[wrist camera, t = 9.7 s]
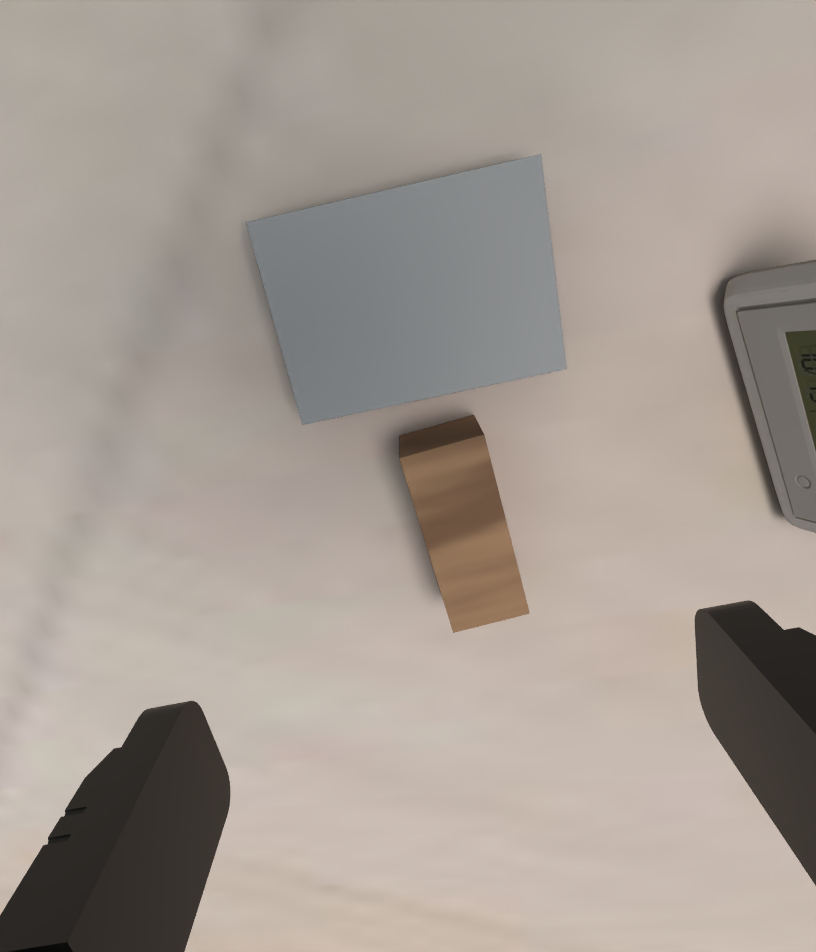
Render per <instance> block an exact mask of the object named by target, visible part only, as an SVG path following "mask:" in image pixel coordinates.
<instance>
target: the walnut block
mask: <svg viewBox="0 0 816 952" xmlns="http://www.w3.org/2000/svg"><path fill="white" fill-rule="evenodd" d="M399 459H400V462H401V465H402V469H403V472H404V475H405V478H406V482H407V485H408V488H409V491H410V495H411V498H412V501H413V504H414V507H415V511H416V514H417V517H418V520H419V524H420V527H421V530H422V533H423V536H424V540H425V543H426V546H427V549H428V553H429V556H430V559H431V562H432V566H433V569H434V572H435V575H436V578H437V582H438V585H439V588H440V591H441V595H442V598H443V601H444V604H445V607H446V611H447V614H448V617H449V620H450V624H451V627H452V630H453V633H454V632H458V631H462V630H466V629H470V628H474V627H478V626H482V625H486V624H490V623H494V622H498V621H502V620H506V619H510V618H513V617H517V616H521V615H525V614H529V609H528V605H527V601H526V597H525V593H524V589H523V586H522V582H521V578H520V574H519V570H518V566H517V562H516V558H515V554H514V550H513V546H512V542H511V538H510V534H509V531H508V527H507V523H506V519H505V515H504V511H503V507H502V503H501V499H500V495H499V491H498V487H497V483H496V480H495V476H494V472H493V468H492V464H491V460H490V456H489V452H488V448H487V444H486V440H485V436H484V433H483V432H482V430H481V428H480V426H479V424H478V422H477V420H476V418H475V416H474V415H471V416H468V417H464V418H461V419H457V420H454V421H450V422H447V423H443V424H440V425H436V426H433V427H429V428H426V429H422V430H419V431H415V432H412V433H408V434H405V435H401V436H399Z"/></svg>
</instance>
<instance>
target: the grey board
mask: <svg viewBox="0 0 816 952" xmlns="http://www.w3.org/2000/svg"><path fill="white" fill-rule="evenodd" d="M246 225H247V229H248V232H249V236H250V239H251V243H252V246H253V250H254V254H255V257H256V261H257V264H258V268H259V272H260V275H261V279H262V282H263V286H264V289H265V293H266V297H267V300H268V304H269V307H270V311H271V315H272V318H273V322H274V325H275V329H276V332H277V336H278V340H279V343H280V347H281V350H282V354H283V358H284V361H285V365H286V368H287V372H288V375H289V379H290V383H291V386H292V390H293V393H294V397H295V400H296V404H297V408H298V411H299V415H300V418H301V422H302V425H304V424H309V423H313V422H318V421H323V420H328V419H332V418H337V417H342V416H347V415H351V414H356V413H361V412H366V411H370V410H375V409H380V408H385V407H389V406H394V405H399V404H404V403H408V402H413V401H418V400H423V399H427V398H432V397H437V396H442V395H446V394H451V393H456V392H461V391H465V390H470V389H475V388H480V387H484V386H489V385H494V384H499V383H503V382H508V381H513V380H518V379H522V378H527V377H532V376H536V375H541V374H546V373H551V372H555V371H560V370H565V369H567V367H566V359H565V350H564V342H563V334H562V325H561V317H560V309H559V300H558V292H557V283H556V275H555V267H554V258H553V250H552V241H551V233H550V225H549V216H548V208H547V200H546V191H545V183H544V174H543V166H542V158H541V154H539V155H535V156H531V157H526V158H522V159H518V160H513V161H509V162H505V163H500V164H496V165H492V166H487V167H483V168H479V169H475V170H470V171H466V172H462V173H457V174H453V175H449V176H444V177H440V178H436V179H431V180H427V181H423V182H418V183H414V184H410V185H405V186H401V187H397V188H392V189H388V190H384V191H380V192H375V193H371V194H367V195H362V196H358V197H354V198H349V199H345V200H341V201H336V202H332V203H328V204H323V205H319V206H315V207H310V208H306V209H302V210H298V211H293V212H289V213H285V214H280V215H276V216H272V217H267V218H263V219H259V220H254V221H250V222H246Z"/></svg>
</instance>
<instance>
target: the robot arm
mask: <svg viewBox="0 0 816 952" xmlns="http://www.w3.org/2000/svg"><path fill="white" fill-rule="evenodd" d="M695 637H696V657H697V677H698V692H699V697H700V702H701V705H702V708H703V711H704V714H705V717H706V719H707V721H708V723H709V725H710V727H711V729H712V731H713V733H714V734H715V736H716V737H717V739H718V740H719V742H720V743H721V745H722V746H723V748H724V749H725V751H726V752H727V754H728V755H729V757H730V758H731V760H732V761H733V763H734V764H735V766H736V767H737V769H738V770H739V772H740V773H741V775H742V776H743V778H744V779H745V781H746V782H747V784H748V785H749V787H750V788H751V790H752V791H753V793H754V794H755V795H756V797H757V798H758V800H759V801H760V803H761V804H762V806H763V807H764V809H765V810H766V812H767V813H768V815H769V816H770V818H771V819H772V821H773V822H774V824H775V825H776V827H777V828H778V830H779V831H780V833H781V834H782V836H783V837H784V839H785V840H786V842H787V843H788V845H789V846H790V848H791V849H792V851H793V852H794V854H795V855H796V857H797V858H798V860H799V861H800V863H801V864H802V866H803V867H804V869H805V870H806V872H807V873H808V875H809V876H810V878H811V879H812V881H813V882H814V884H815V885H816V635H814V634H811V633H809V632H807V631H805V630H803V629H801V628H799V627H798V628H793V629H787V630H783V629H782V628H781V627H780V626H779V625H778V624H777V623H776V622H775V621H774V620H773V619H772V618H771V617H770V616H769V615H768V614H767V613H765V612H764V611H763V610H762V609H761V608H760V607H759V606H758V605H757V604H756V603H754V602H752V601H742V602H737V603H731V604H726V605H721V606H715V607H710V608H704V609H699V610H698V611H697V612H696V615H695ZM229 805H230V781H229V776H228V772H227V769H226V766H225V764H224V761H223V759H222V757H221V754H220V752H219V749H218V747H217V745H216V742H215V740H214V737H213V735H212V732H211V730H210V728H209V725H208V723H207V720H206V718H205V715H204V713H203V711H202V709H201V707H200V706H199V704H198V703H196V702H195V701H188V702H183V703H177V704H172V705H166V706H161V707H156V708H150V709H147V710H145V711H144V712H143V713H142V714H141V715H140V716H139V718H138V720H137V721H136V723H135V725H134V726H133V728H132V730H131V732H130V733H129V735H128V737H127V739H126V740H125V742H124V744H123V745H122V747H121V748H115V749H113V750H112V751H111V752H110V753H109V754H108V755H107V756H106V757H105V758H104V759H103V760H102V761H101V762H100V763H99V764H98V765H97V766H96V767H95V768H94V769H93V770H92V771H91V772H90V773H89V774H88V775H87V776H86V777H85V779H84V780H83V782H82V784H81V785H80V787H79V788H78V790H77V792H76V793H75V795H74V797H73V798H72V800H71V801H70V803H69V805H68V806H67V808H66V810H65V816H64V817H61V818H60V819H59V821H58V823H57V824H56V826H55V827H54V829H53V831H52V832H51V834H50V836H49V837H48V844H47V845H43V847H42V849H41V850H40V852H39V853H38V855H37V857H36V858H35V860H34V861H33V863H32V865H31V866H30V868H29V870H28V871H27V873H26V874H25V876H24V878H23V879H22V881H21V883H20V884H19V886H18V887H17V889H16V891H15V892H14V894H13V896H12V897H11V899H10V900H9V902H8V904H7V905H6V907H5V909H4V910H3V912H2V913H1V915H0V952H184V951H185V948H186V945H187V941H188V938H189V935H190V932H191V929H192V926H193V922H194V919H195V916H196V913H197V910H198V907H199V903H200V900H201V897H202V894H203V891H204V888H205V884H206V881H207V878H208V875H209V872H210V869H211V865H212V862H213V859H214V856H215V853H216V849H217V846H218V843H219V840H220V837H221V834H222V830H223V827H224V824H225V821H226V818H227V814H228V810H229Z"/></svg>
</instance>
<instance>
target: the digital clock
mask: <svg viewBox="0 0 816 952" xmlns="http://www.w3.org/2000/svg"><path fill="white" fill-rule="evenodd" d="M724 312H725V317H726V320H727V324H728V328H729V332H730V335H731V339H732V343H733V346H734V350H735V353H736V357H737V360H738V363H739V367H740V370H741V374H742V377H743V381H744V384H745V387H746V391H747V394H748V398H749V401H750V405H751V408H752V411H753V415H754V418H755V422H756V425H757V429H758V432H759V436H760V439H761V442H762V446H763V449H764V453H765V456H766V460H767V463H768V466H769V470H770V473H771V477H772V480H773V484H774V487H775V490H776V494H777V497H778V500H779V503H780V506H781V509H782V512H783V514H784V516H785V518H786V520H787V521H788V522H789V523H791V524H792V525H794V526H796V527H798V528H801V529H804V530H808V531H811V532H815V533H816V260H811V261H806V262H800V263H795V264H790V265H784V266H779V267H773V268H768V269H762V270H757V271H752V272H747V273H744V274H741V275H739V276H737V277H735V278H733V279H731V280H730V281H729V282H728V283H727V287H726V292H725V298H724Z"/></svg>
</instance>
